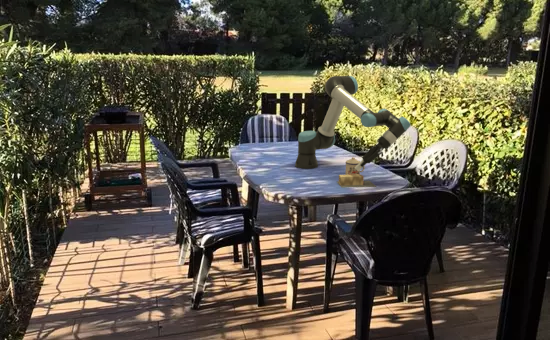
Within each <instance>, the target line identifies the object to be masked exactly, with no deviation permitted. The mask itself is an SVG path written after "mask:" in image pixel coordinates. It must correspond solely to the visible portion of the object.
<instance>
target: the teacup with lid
mask: <svg viewBox="0 0 550 340" xmlns="http://www.w3.org/2000/svg"><path fill="white" fill-rule="evenodd" d="M360 162H361V161H360V160H357V159H356V157H352V156H351V158H350V159H347V160H346V161H345V174H344V175H356V174H361V173H363V172H364V170H365V168H366V167H365V166H366V165H365V166H364V167H362V169H360V170H359V171H357V170H356V169H355V167H356V166H357V165H358V164H359V163H360Z"/></svg>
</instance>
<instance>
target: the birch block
mask: <svg viewBox="0 0 550 340" xmlns="http://www.w3.org/2000/svg"><path fill="white" fill-rule="evenodd" d="M364 179H365V177H364V175H363V174H361V173H360V174H356V175H345V174H338V181H339V184H340V185H341V186H347V185H363V181H365V180H364ZM339 184H338V185H339ZM340 185H339V186H340ZM341 186H340V187H341Z"/></svg>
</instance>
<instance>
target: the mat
mask: <svg viewBox="0 0 550 340" xmlns="http://www.w3.org/2000/svg"><path fill="white" fill-rule="evenodd" d="M336 183H337V184H338V186H340V187H341V188H342V189H345V188H377V185H375V183H373V182H372V181H370V180H363V185H347V186H341V185H340V184H339V180H338V181H336Z"/></svg>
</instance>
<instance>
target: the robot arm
mask: <svg viewBox="0 0 550 340" xmlns="http://www.w3.org/2000/svg"><path fill="white" fill-rule="evenodd" d="M324 85H325V86H324V88H325V92H326V93H327V95H328V96H329V97H330V98H332V99H331V102H330V104H329V107H328V110H327V111H326V115H325V116H324V120H323V122H322V124H321V126H319V127H318V129H317V131H314V130H305V131H301V132H299V134H298V137H297V140H298V143H297V145H298V146H297V147H298V148H297V157H296V161H295V163H294V164H295V168H298V169H307V170H309V169H316V168H318V165H319V164H318V163H319V162H318V159H317V156H316V151H317V150H326V149H330V148H331V147H333V146H334V144H335V143H336V135H335V131H334V130H335V129H336V126H337V123H338V121H339V119H340V116H341V114H342V111H343V109H344V108H346V109H347V110H349V111H350V112H351V113H352V114H353V115H355V117H357V118H359V119H360V123H361V125H362V126H363V127H364V128H373V127H382V126H385V127H386V128H388V129H387V130H386V131H385V132H384V133H383V134H382V135H381V136H380V137H379V138H378V139H377V141H376V142H377V143H376V144H375V145H371V147H370V148H369V149H368V151H366V153H365V154H364V155H363V157H362V160H361V161H360V163H359V164H358V165H357V166H356V167H355V169H356V170H357V171H359V170H360V171H361V170H362V169H363V167H364V166H366V165H367V164H370V163H372V162H373V161H374V160H375V159H377V158H378V157H379V156H381V155H382V154H383V150H384V149H385V150H389V148H390V147H391V145H393V144H395V143H396V142H397V140H398V139H399V138H400V137H401V136H402V135H403V134H405V133H406V132H407V131H408V130H409V128H411V122H410V121H409V120H408V119H407V118H406V117H404V116H400V117H399V118H398V117H397V116H396V115H395V114H393V113H392V112H391V111H390V110H388V109H387V108H381V109H379V110H378V111H377V112H374V111H373V110H371V109H370V108H369V107H367V105H365V104H364V103H362V102H361V101H360V100H359V99H358V98H356V97H355V96H354V95H356V93H357V92H358V90H359V83H358V81H357V79H356V78H355V77H354V76H352V75H333V76H330V77H329V78H328V79H327V80H326V81H325V83H324Z"/></svg>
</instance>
